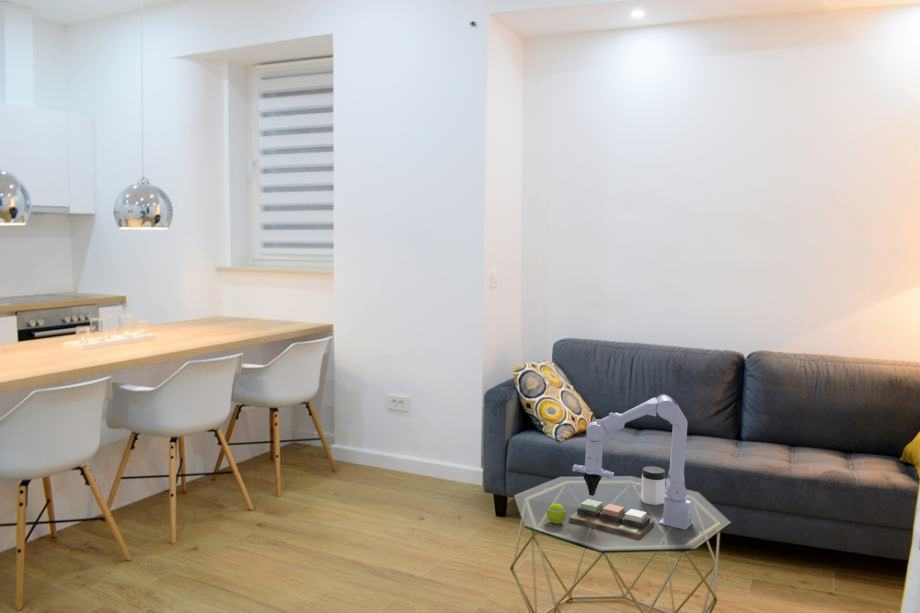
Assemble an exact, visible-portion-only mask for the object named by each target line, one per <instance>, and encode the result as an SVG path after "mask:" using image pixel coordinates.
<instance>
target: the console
mask: <svg viewBox="0 0 920 613" xmlns="http://www.w3.org/2000/svg"><path fill="white" fill-rule="evenodd" d="M605 506H606V505H605ZM605 506H604V505H602V508H601V509H600V510H599V511H597V512H593V511H589V510H585V509H581V505H580V506H579V507H577V510H576V511H575V512H574V513H573V514H572V515H570V516H569V517H568V522H571V523H574V524H578V525H582V526H587V527H590V528H594V529H597V530H603V531H606V532H609V533H613V534H619V535H621V536H626V535H627V536H626V537H630V538H635V539H639V540H640V539H641V538H642V537H644V535H645V534H647V533H648V532H649V530H650V529H651V528H652V527H654V525H655V521H654V520H652V519H651V517H650V516H649V515H647V518H646V519H645V520H644V521H643V522H642V523H640V522H635V521H631V520H627V519H625V513H627V512H628V510H627V511H626V510H624V513H623V514H622V515H621V516H620V517H614V516H610V515H606V514H603V508H604V507H605Z"/></svg>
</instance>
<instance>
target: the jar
mask: <svg viewBox="0 0 920 613" xmlns="http://www.w3.org/2000/svg"><path fill="white" fill-rule="evenodd" d="M665 480H666V469H664V468H662V467H659V466H650V465H649V466H644V467H642V473H641V482H640V483H641V485H640V487H641V488H640V500H641V501H642V504H646V505H652V506H658V505H664V495H665V493H666V487H665Z"/></svg>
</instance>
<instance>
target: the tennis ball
mask: <svg viewBox="0 0 920 613" xmlns="http://www.w3.org/2000/svg"><path fill="white" fill-rule="evenodd" d="M566 510H567V509H565V507H564V506H563V505H562V504H560V503H552V504H550V505H549V506H548V508H547V510H546V518H547V519H548V521H549V522H550V523H551V524H554V525H559V524H562V523H563V522H564V521H565V520H566V518H567V511H566Z"/></svg>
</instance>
